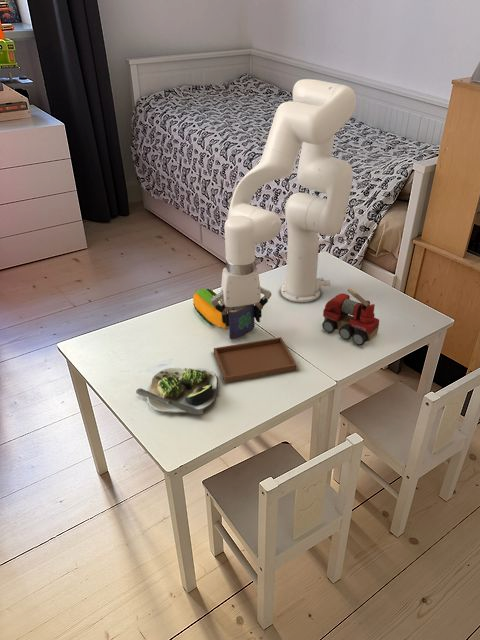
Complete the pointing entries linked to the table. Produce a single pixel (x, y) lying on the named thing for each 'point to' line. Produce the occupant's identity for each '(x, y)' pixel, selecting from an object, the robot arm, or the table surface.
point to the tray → (254, 359)
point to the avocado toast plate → (182, 390)
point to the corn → (207, 307)
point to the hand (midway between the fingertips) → (241, 321)
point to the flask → (241, 320)
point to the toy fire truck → (351, 318)
